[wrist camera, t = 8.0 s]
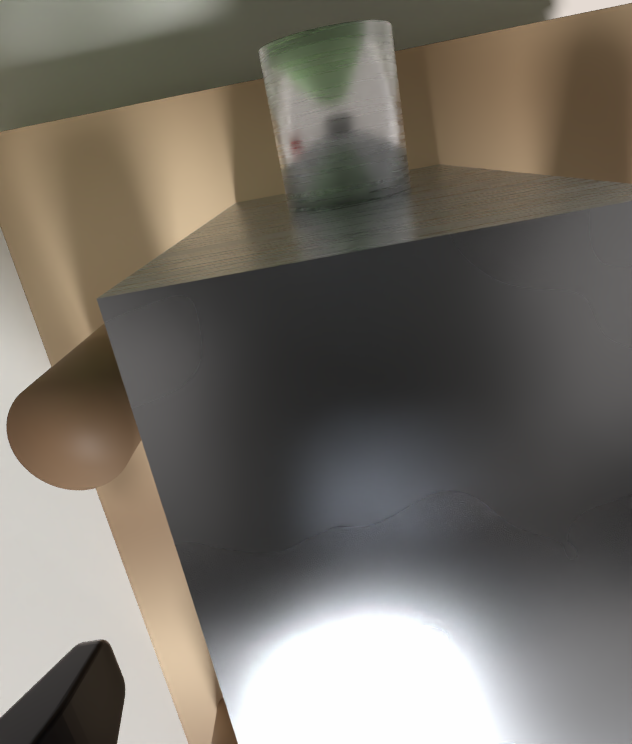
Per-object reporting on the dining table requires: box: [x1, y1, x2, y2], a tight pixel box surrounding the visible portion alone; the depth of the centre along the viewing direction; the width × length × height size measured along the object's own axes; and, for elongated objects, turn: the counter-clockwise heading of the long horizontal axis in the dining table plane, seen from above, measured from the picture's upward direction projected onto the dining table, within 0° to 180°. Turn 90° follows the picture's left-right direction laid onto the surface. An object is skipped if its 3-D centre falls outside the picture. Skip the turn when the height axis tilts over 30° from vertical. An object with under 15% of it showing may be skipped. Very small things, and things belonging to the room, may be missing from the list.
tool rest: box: [0, 3, 632, 744], centre depth 10 cm, size 15×10×4 cm, turn 10°
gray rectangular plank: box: [97, 20, 632, 744], centre depth 8 cm, size 13×3×6 cm, turn 10°
